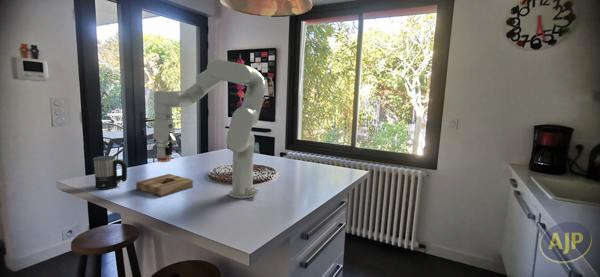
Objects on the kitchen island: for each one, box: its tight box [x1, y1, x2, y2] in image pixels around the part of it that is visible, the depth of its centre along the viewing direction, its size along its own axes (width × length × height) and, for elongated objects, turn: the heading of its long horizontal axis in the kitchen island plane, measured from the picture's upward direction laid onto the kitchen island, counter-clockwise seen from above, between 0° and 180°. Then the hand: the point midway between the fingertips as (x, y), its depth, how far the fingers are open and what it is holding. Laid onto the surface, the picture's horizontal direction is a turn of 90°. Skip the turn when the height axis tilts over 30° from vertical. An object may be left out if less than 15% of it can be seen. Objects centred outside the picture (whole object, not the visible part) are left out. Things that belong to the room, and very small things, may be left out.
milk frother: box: [92, 155, 128, 190], centre depth 146 cm, size 14×16×15 cm
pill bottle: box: [156, 138, 172, 163], centre depth 141 cm, size 6×6×11 cm
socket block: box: [135, 173, 194, 198], centre depth 144 cm, size 18×18×4 cm
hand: (164, 153), depth 142 cm, fingers closed on pill bottle, 6 cm apart
